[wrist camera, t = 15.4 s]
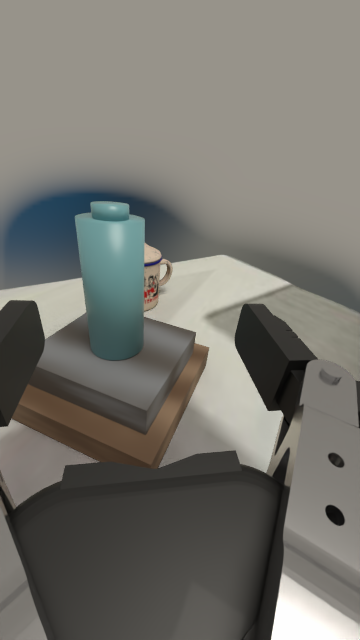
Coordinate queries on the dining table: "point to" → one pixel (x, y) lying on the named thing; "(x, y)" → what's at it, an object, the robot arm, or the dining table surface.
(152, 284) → the teacup with lid
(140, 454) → the tower base
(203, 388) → the dining table surface
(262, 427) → the dining table surface
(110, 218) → the teal bottle
